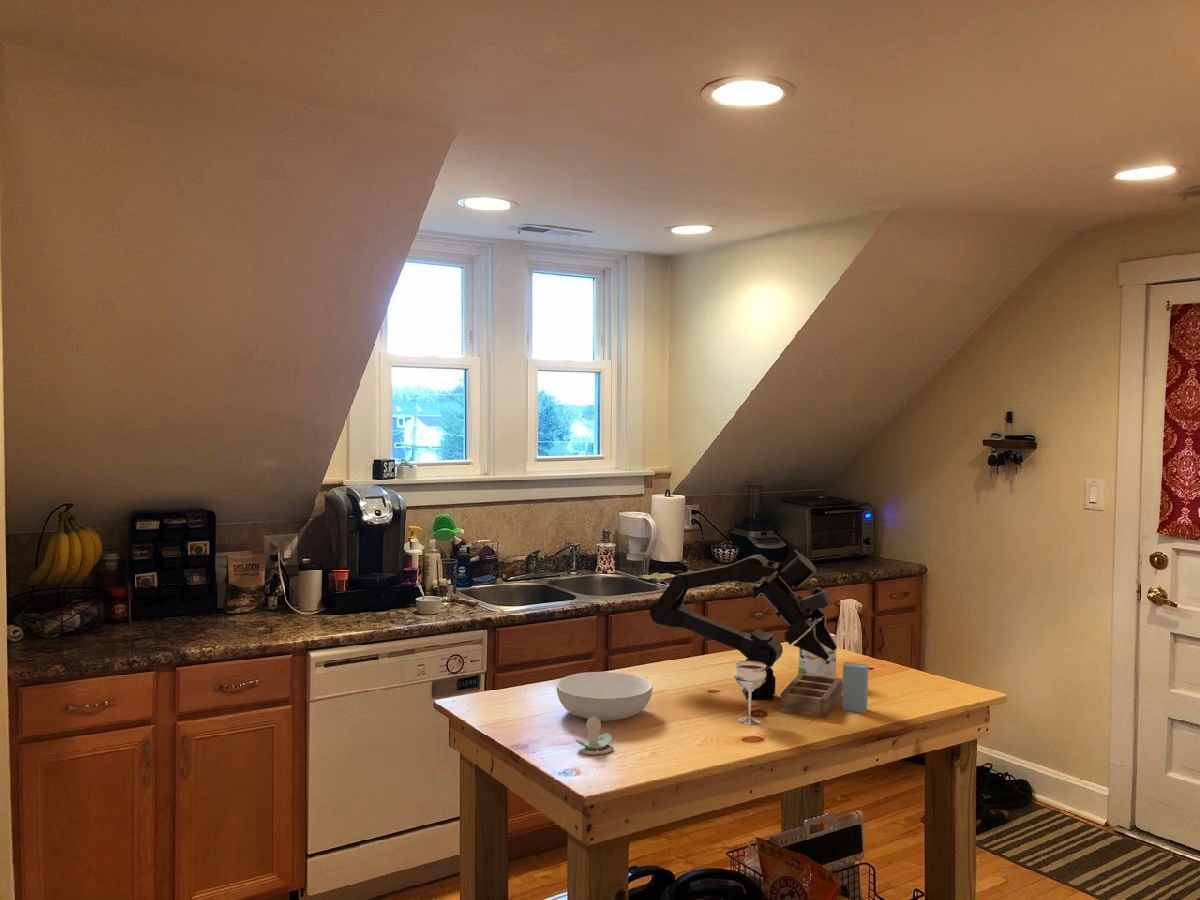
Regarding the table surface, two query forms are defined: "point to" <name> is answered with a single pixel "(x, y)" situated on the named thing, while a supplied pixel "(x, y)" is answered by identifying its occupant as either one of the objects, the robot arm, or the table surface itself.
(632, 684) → the serving bowl
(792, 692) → the rack
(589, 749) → the pacifier
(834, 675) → the ink box
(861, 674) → the light blue block
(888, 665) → the table surface
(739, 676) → the wineglass
